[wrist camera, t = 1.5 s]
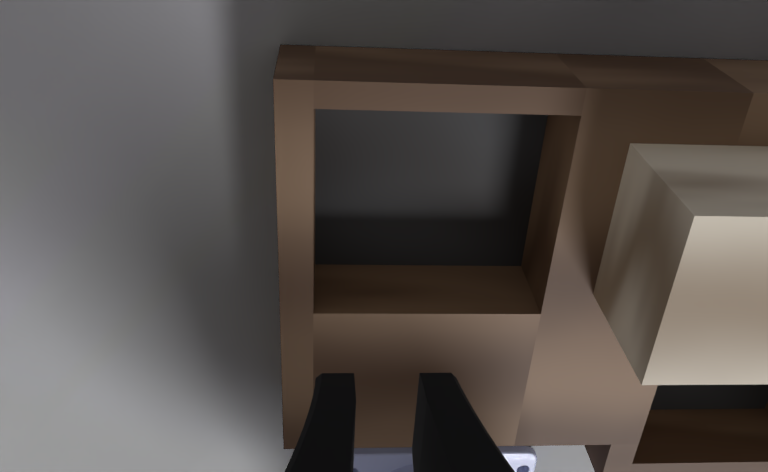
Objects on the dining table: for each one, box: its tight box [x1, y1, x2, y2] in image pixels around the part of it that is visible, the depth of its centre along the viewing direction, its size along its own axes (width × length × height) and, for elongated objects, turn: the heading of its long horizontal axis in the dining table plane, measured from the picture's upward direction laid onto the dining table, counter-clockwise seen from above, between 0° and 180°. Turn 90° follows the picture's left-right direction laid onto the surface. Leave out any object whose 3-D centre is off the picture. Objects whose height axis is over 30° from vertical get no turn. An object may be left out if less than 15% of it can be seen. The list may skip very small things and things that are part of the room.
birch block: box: [593, 143, 768, 385], centre depth 19 cm, size 5×5×4 cm
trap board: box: [273, 45, 768, 472], centre depth 23 cm, size 15×26×5 cm, turn 87°
